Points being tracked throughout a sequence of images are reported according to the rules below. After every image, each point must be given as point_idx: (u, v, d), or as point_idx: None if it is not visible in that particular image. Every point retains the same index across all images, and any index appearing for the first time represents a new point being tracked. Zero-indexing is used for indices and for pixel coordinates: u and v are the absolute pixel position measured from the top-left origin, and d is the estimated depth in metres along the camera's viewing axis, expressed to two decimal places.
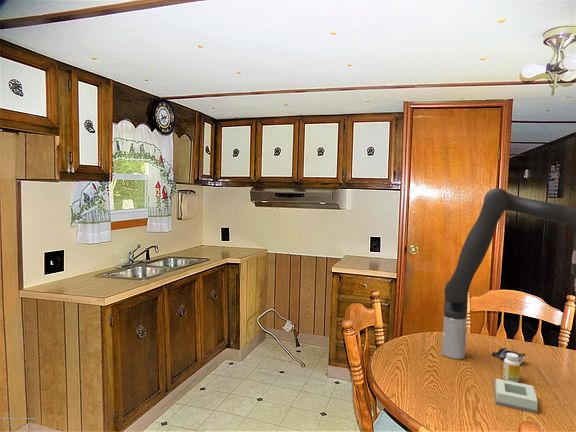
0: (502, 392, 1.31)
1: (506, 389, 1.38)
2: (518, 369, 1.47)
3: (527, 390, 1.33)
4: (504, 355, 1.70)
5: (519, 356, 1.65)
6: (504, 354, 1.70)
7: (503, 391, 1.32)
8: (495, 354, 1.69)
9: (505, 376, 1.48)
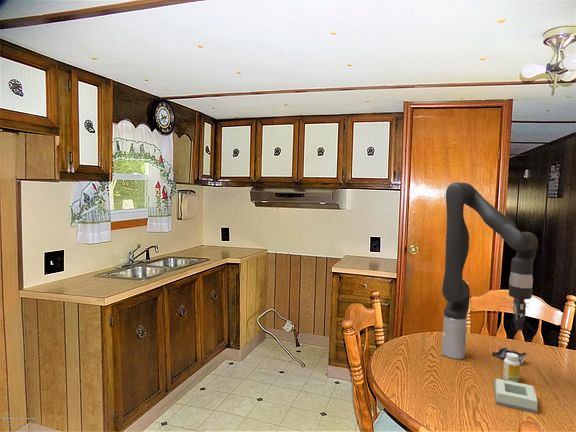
0: (502, 392, 1.31)
1: (506, 389, 1.38)
2: (518, 369, 1.47)
3: (527, 390, 1.33)
4: (504, 355, 1.70)
5: (519, 355, 1.66)
6: (504, 354, 1.71)
7: (503, 391, 1.32)
8: (496, 354, 1.69)
9: (505, 376, 1.48)
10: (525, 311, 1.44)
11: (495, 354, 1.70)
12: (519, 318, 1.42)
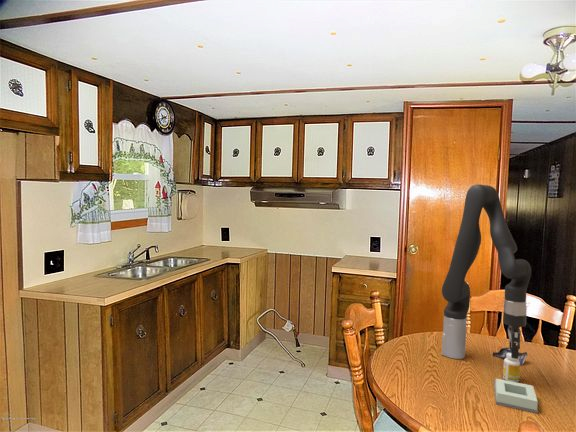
0: (502, 392, 1.31)
1: (506, 389, 1.38)
2: (518, 369, 1.47)
3: (527, 390, 1.33)
4: (504, 355, 1.71)
5: (520, 355, 1.66)
6: (504, 354, 1.71)
7: (503, 391, 1.32)
8: (496, 354, 1.69)
9: (505, 376, 1.48)
10: None
11: (496, 354, 1.69)
12: (514, 346, 1.42)
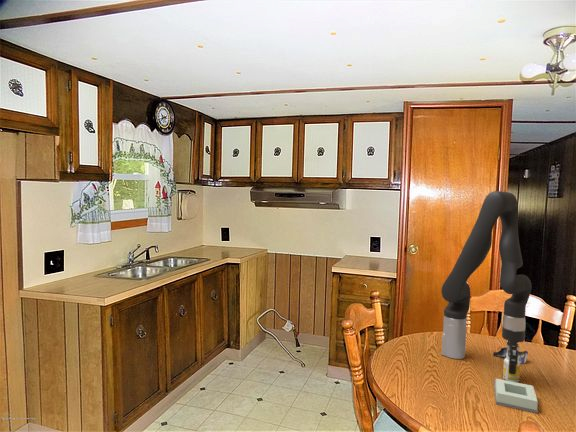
0: (502, 392, 1.31)
1: (506, 389, 1.38)
2: (518, 369, 1.47)
3: (527, 390, 1.33)
4: None
5: (520, 354, 1.67)
6: None
7: (503, 391, 1.32)
8: (497, 354, 1.70)
9: (505, 376, 1.48)
10: None
11: (497, 354, 1.70)
12: (511, 363, 1.44)
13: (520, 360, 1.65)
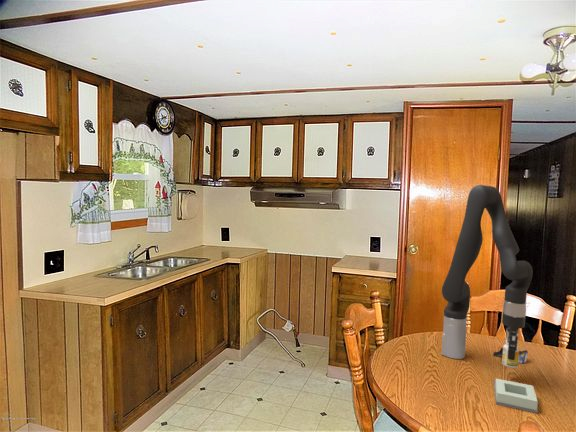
0: (502, 392, 1.31)
1: (506, 389, 1.38)
2: (517, 355, 1.46)
3: (527, 390, 1.33)
4: None
5: (520, 353, 1.68)
6: None
7: (503, 391, 1.32)
8: (498, 354, 1.70)
9: (504, 362, 1.48)
10: (517, 341, 1.45)
11: (497, 354, 1.70)
12: (511, 348, 1.44)
13: (520, 359, 1.66)
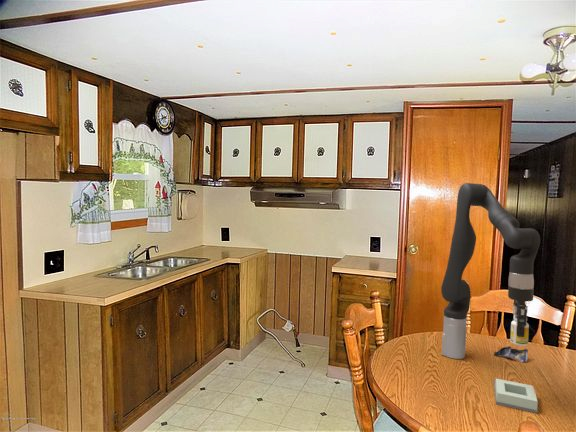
0: (502, 392, 1.31)
1: (506, 389, 1.38)
2: (527, 331, 1.34)
3: (527, 390, 1.33)
4: None
5: (520, 352, 1.69)
6: None
7: (503, 391, 1.32)
8: (499, 354, 1.70)
9: (513, 340, 1.35)
10: None
11: (498, 354, 1.70)
12: (520, 324, 1.31)
13: (521, 359, 1.67)
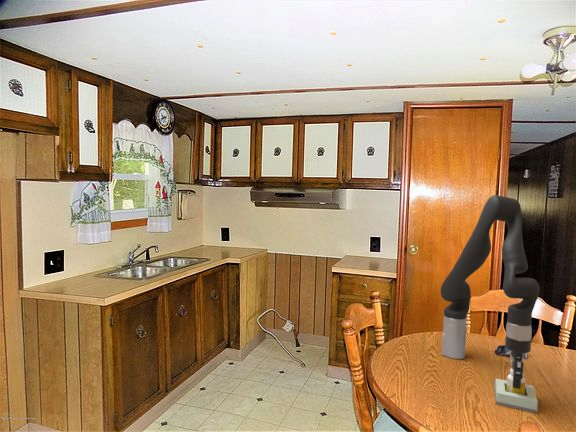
0: (502, 392, 1.31)
1: (506, 389, 1.38)
2: (523, 387, 1.31)
3: (527, 390, 1.33)
4: None
5: None
6: None
7: (503, 391, 1.32)
8: (500, 353, 1.71)
9: None
10: (523, 367, 1.30)
11: (500, 353, 1.71)
12: (516, 376, 1.28)
13: None
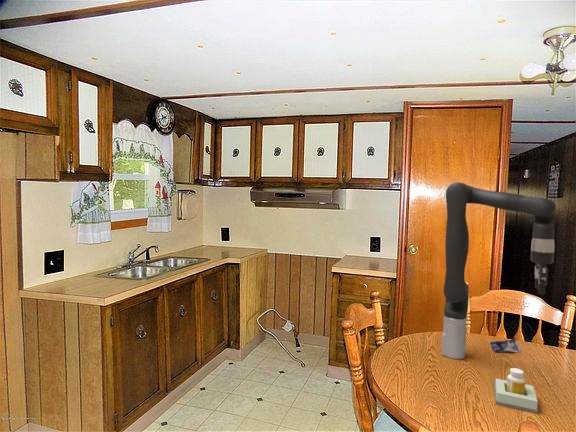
0: (502, 392, 1.31)
1: (506, 389, 1.38)
2: (523, 387, 1.31)
3: (527, 390, 1.33)
4: (497, 348, 1.78)
5: None
6: (496, 347, 1.79)
7: (503, 391, 1.32)
8: (500, 350, 1.74)
9: None
10: None
11: (499, 350, 1.74)
12: (542, 281, 1.45)
13: (514, 349, 1.77)
